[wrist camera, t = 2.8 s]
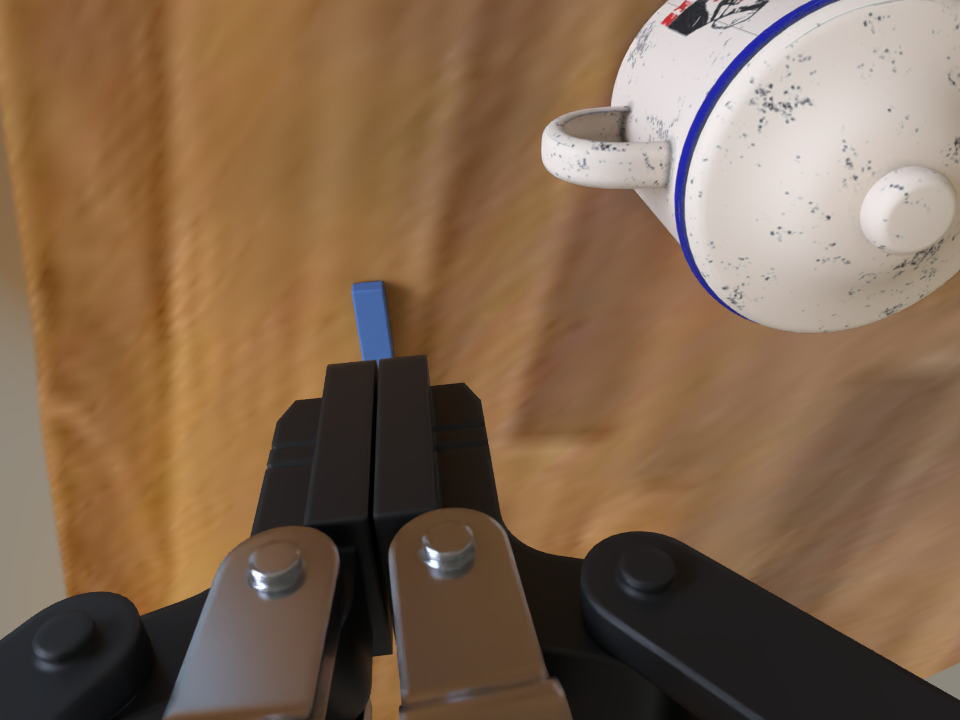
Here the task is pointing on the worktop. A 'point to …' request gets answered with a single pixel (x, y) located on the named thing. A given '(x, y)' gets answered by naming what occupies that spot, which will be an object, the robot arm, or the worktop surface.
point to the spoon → (372, 320)
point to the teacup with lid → (789, 151)
